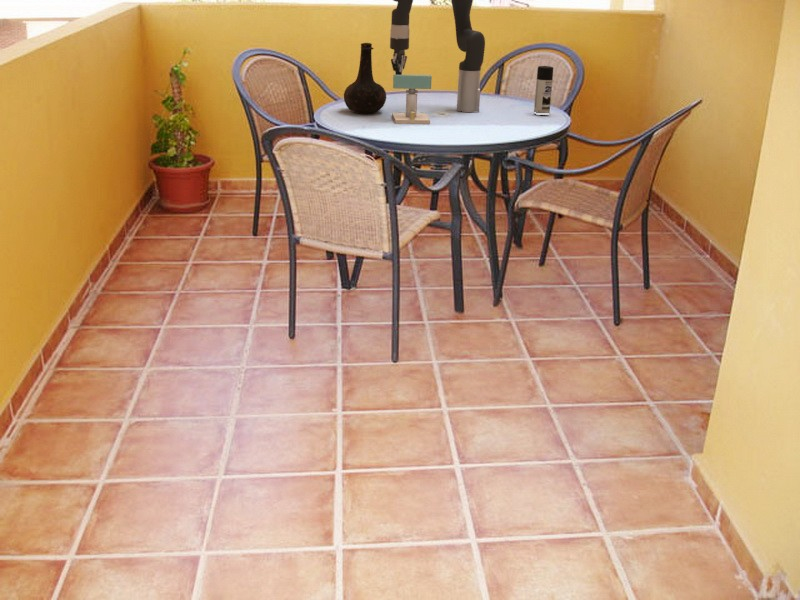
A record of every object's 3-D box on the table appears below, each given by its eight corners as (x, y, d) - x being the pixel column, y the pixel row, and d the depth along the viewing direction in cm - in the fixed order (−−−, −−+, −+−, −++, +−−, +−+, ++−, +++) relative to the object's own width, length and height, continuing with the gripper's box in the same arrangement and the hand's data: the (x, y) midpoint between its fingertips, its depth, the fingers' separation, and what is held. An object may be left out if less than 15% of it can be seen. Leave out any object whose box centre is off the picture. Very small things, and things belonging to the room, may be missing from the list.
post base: (425, 117, 349) (426, 91, 345) (430, 124, 337) (431, 97, 332) (392, 116, 348) (392, 90, 344) (395, 123, 335) (396, 96, 331)
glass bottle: (346, 116, 345) (347, 45, 334) (341, 108, 361) (341, 40, 350) (389, 116, 349) (391, 46, 338) (382, 108, 365) (383, 40, 354)
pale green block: (430, 93, 340) (430, 75, 337) (430, 94, 338) (431, 76, 335) (392, 92, 338) (393, 74, 336) (393, 93, 336) (394, 75, 333)
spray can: (542, 116, 358) (546, 68, 350) (530, 114, 362) (534, 66, 354) (552, 115, 362) (557, 67, 354) (540, 112, 366) (545, 65, 358)
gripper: (396, 34, 341) (395, 78, 348) (385, 37, 329) (383, 82, 336) (414, 35, 339) (412, 79, 346) (403, 38, 327) (401, 84, 334)
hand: (398, 81), depth 341 cm, fingers closed
